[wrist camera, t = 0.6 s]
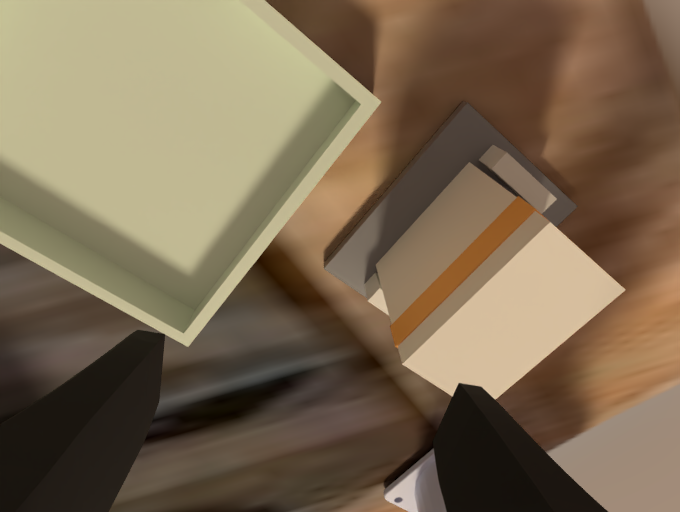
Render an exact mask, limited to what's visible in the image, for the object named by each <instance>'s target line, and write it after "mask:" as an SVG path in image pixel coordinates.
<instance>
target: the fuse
mask: <svg viewBox="0 0 680 512" xmlns="http://www.w3.org/2000/svg"><path fill="white" fill-rule="evenodd" d="M376 268H377V272H378V276H379V279H380V283H381V287H382V290H383V294H384V298H385V302H386V305H387V309H388V313H389V317H390V320H391V324H392V325H391V326H390V328H391V332H392V336H393V339H394V343H395V347H396V348H398V350H399V354H400V358H401V361H402V364H403V365H404V366H406V367H407V368H409V369H410V370H412V371H414V372H415V373H417V374H418V375H420V376H421V377H423V378H424V379H426V380H428V381H429V382H431V383H432V384H434V385H435V386H437V387H438V388H440V389H442V390H443V391H445V392H446V393H448V394H449V395H451V396H452V397H453V395H454V392H455V390H456V388H457V386H458V383H463V384H469V385H475V386H481V387H482V388H483V389H484V390H486V391H487V392H488V393H489V394H490V395H491V396H492V397H493V398H494V399H495V400H496V399H497V398H498V397H499V396H500V395H501V394H503V393H504V392H505V391H506V390H507V389H509V388H510V387H511V386H512V385H513V384H515V383H516V382H517V381H518V380H519V379H520V378H522V377H523V376H524V375H525V374H526V373H528V372H529V371H530V370H531V369H532V368H534V367H535V366H536V365H537V364H538V363H539V362H541V361H542V360H543V359H544V358H545V357H547V356H548V355H549V354H550V353H551V352H553V351H554V350H555V349H556V348H557V347H558V346H560V345H561V344H562V343H563V342H564V341H566V340H567V339H568V338H569V337H570V336H572V335H573V334H574V333H575V332H576V331H577V330H579V329H580V328H581V327H582V326H583V325H585V324H586V323H587V322H588V321H589V320H591V319H592V318H593V317H594V316H595V315H597V314H598V313H599V312H600V311H601V310H602V309H604V308H605V307H606V306H607V305H608V304H610V303H611V302H612V301H613V300H614V299H616V298H617V297H618V296H619V295H620V294H621V293H623V292H624V291H625V289H624V288H623V287H622V286H621V285H620V284H618V283H617V282H616V281H615V280H614V279H613V278H612V277H611V276H610V275H609V274H608V273H606V272H605V271H604V270H603V269H602V268H601V267H600V266H599V265H598V264H596V263H595V262H594V261H593V260H592V259H591V258H590V257H589V256H588V255H586V254H585V253H584V252H583V251H582V250H581V249H580V248H579V247H577V246H576V245H575V244H574V243H573V242H572V241H571V240H570V239H569V238H567V237H566V236H565V235H564V234H563V233H562V232H561V231H560V230H559V229H557V228H556V227H555V226H554V225H553V224H552V223H551V222H550V221H549V220H547V219H546V218H545V217H544V216H543V215H542V214H541V213H540V212H539V211H537V210H536V209H535V208H534V207H533V206H531V205H530V204H528V203H527V202H526V201H524V200H523V199H522V198H520V197H519V196H518V197H516V196H514V195H513V194H512V193H510V192H509V191H508V190H506V189H505V188H504V187H502V186H501V185H500V184H498V183H497V182H496V181H494V180H493V179H492V178H490V177H489V176H488V175H486V174H485V173H484V172H482V171H481V170H480V169H478V168H477V167H475V166H474V165H473V164H471V163H470V162H469V163H468V164H467V165H466V166H465V167H464V168H463V169H462V170H461V172H460V173H459V174H458V175H457V176H456V177H455V178H454V179H453V180H452V181H451V183H450V184H449V185H448V186H447V187H446V188H445V189H444V190H443V191H442V192H441V194H440V195H439V196H438V197H437V198H436V199H435V200H434V201H433V202H432V203H431V204H430V206H429V207H428V208H427V209H426V210H425V211H424V212H423V213H422V214H421V215H420V217H419V218H418V219H417V220H416V221H415V222H414V223H413V224H412V225H411V226H410V228H409V229H408V230H407V231H406V232H405V233H404V234H403V235H402V236H401V237H400V238H399V240H398V241H397V242H396V243H395V244H394V245H393V246H392V247H391V248H390V249H389V251H388V252H387V253H386V254H385V255H384V256H383V257H382V258H381V259H380V260H379V262H378V263H377V264H376Z"/></svg>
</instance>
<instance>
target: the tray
mask: <svg viewBox="0 0 680 512" xmlns="http://www.w3.org/2000/svg"><path fill="white" fill-rule="evenodd" d="M380 103H381V101H380V100H379V99H378V98H376V97H375V96H374V95H373V94H372V93H371V92H369V91H368V90H367V89H366V88H365V87H364V86H363V85H361V84H360V83H359V82H358V81H357V80H356V79H355V78H353V77H352V76H351V75H350V74H349V73H348V72H346V71H345V70H344V69H343V68H342V67H341V66H340V65H338V64H337V63H336V62H335V61H334V60H333V59H332V58H330V57H329V56H328V55H327V54H326V53H325V52H324V51H322V50H321V49H320V48H319V47H318V46H317V45H315V44H314V43H313V42H312V41H311V40H310V39H309V38H307V37H306V36H305V35H304V34H303V33H302V32H301V31H299V30H298V29H297V28H296V27H295V26H294V25H293V24H291V23H290V22H289V21H288V20H287V19H286V18H284V17H283V16H282V15H281V14H280V13H279V12H278V11H276V10H275V9H274V8H273V7H272V6H271V5H270V4H268V3H267V2H266V1H265V0H0V244H2V245H4V246H6V247H8V248H9V249H11V250H13V251H15V252H17V253H18V254H20V255H22V256H24V257H26V258H28V259H29V260H31V261H33V262H35V263H37V264H38V265H40V266H42V267H44V268H46V269H48V270H49V271H51V272H53V273H55V274H57V275H58V276H60V277H62V278H64V279H66V280H68V281H69V282H71V283H73V284H75V285H77V286H78V287H80V288H82V289H84V290H86V291H87V292H89V293H91V294H93V295H95V296H97V297H98V298H100V299H102V300H104V301H106V302H107V303H109V304H111V305H113V306H115V307H117V308H118V309H120V310H122V311H124V312H126V313H127V314H129V315H131V316H133V317H135V318H136V319H138V320H140V321H142V322H144V323H146V324H147V325H149V326H151V327H153V328H155V329H156V330H158V331H160V332H162V333H164V334H166V335H167V336H169V337H171V338H173V339H175V340H176V341H178V342H180V343H182V344H184V345H186V346H187V347H188V346H189V345H190V344H191V343H192V341H193V340H194V339H195V337H196V336H197V335H198V334H199V332H200V331H201V330H202V329H203V327H204V326H205V325H206V324H207V322H208V321H209V320H210V318H211V317H212V316H213V315H214V313H215V312H216V311H217V310H218V308H219V307H220V306H221V305H222V303H223V302H224V301H225V299H226V298H227V297H228V296H229V294H230V293H231V292H232V291H233V289H234V288H235V287H236V286H237V284H238V283H239V282H240V281H241V279H242V278H243V277H244V275H245V274H246V273H247V272H248V270H249V269H250V268H251V267H252V265H253V264H254V263H255V262H256V260H257V259H258V258H259V256H260V255H261V254H262V253H263V251H264V250H265V249H266V248H267V246H268V245H269V244H270V243H271V241H272V240H273V239H274V237H275V236H276V235H277V234H278V232H279V231H280V230H281V229H282V227H283V226H284V225H285V224H286V222H287V221H288V220H289V218H290V217H291V216H292V215H293V213H294V212H295V211H296V210H297V208H298V207H299V206H300V205H301V203H302V202H303V201H304V199H305V198H306V197H307V196H308V194H309V193H310V192H311V191H312V189H313V188H314V187H315V186H316V184H317V183H318V182H319V180H320V179H321V178H322V177H323V175H324V174H325V173H326V172H327V170H328V169H329V168H330V167H331V165H332V164H333V163H334V162H335V160H336V159H337V158H338V156H339V155H340V154H341V153H342V151H343V150H344V149H345V148H346V146H347V145H348V144H349V143H350V141H351V140H352V139H353V137H354V136H355V135H356V134H357V132H358V131H359V130H360V129H361V127H362V126H363V125H364V124H365V122H366V121H367V120H368V118H369V117H370V116H371V115H372V113H373V112H374V111H375V110H376V108H377V107H378V106H379V105H380Z"/></svg>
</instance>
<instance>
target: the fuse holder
mask: <svg viewBox="0 0 680 512" xmlns="http://www.w3.org/2000/svg"><path fill="white" fill-rule="evenodd" d="M469 162H470V163H471V164H473V165H474V166H475V167H477V168H478V169H480V170H481V171H482V172H484V173H485V174H486V175H488V176H489V177H490V178H492V179H493V180H494V181H496V182H497V183H498V184H500V185H501V186H502V187H504V188H505V189H506V190H508V191H509V192H510V193H512V194H513V195H514V196H516V197H518V196H519V197H520V198H522V199H523V200H524V201H526V202H527V203H528V204H530V205H531V206H533V207H534V208H535V209H536V210H537V211H539V212H540V213H541V214H542V215H543V216H544V217H545V218H546V219H547V220H549V221H550V222H551V223H552V224H553V225H554V226H555V227H557V226H558V225H559V224H560V223H561V222H562V221H563V220H564V219H565V218H566V217H567V216H568V215H569V214H571V213H572V212H573V211H574V210H575V209H576V208H577V207H578V206H577V205H576V204H575V203H573V202H572V201H571V200H570V199H569V198H568V197H567V196H566V195H565V194H564V193H563V192H562V191H561V190H560V189H559V188H558V187H557V186H555V185H554V184H553V183H552V182H551V181H550V180H549V179H548V178H547V177H546V176H545V175H544V174H543V173H542V172H541V171H540V170H539V169H537V168H536V167H535V166H534V165H533V164H532V163H531V162H530V161H529V160H528V159H527V158H526V157H525V156H524V155H523V154H522V153H521V152H519V151H518V150H517V149H516V148H515V147H514V146H513V145H512V144H511V143H510V142H509V141H508V140H507V139H506V138H505V137H504V136H503V135H501V134H500V133H499V132H498V131H497V130H496V129H495V128H494V127H493V126H492V125H491V124H490V123H489V122H488V121H487V120H486V119H485V118H483V117H482V116H481V115H480V114H479V113H478V112H477V111H476V110H475V109H474V108H473V107H472V106H471V105H470V104H469V103H468V102H465V101H462V103H461V104H460V105H459V106H458V107H457V108H456V110H455V111H454V112H453V113H452V114H451V115H450V117H449V118H448V119H447V120H446V121H445V122H444V124H443V125H442V126H441V127H440V128H439V129H438V131H437V132H436V133H435V134H434V135H433V136H432V138H431V139H430V140H429V141H428V142H427V143H426V145H425V146H424V147H423V148H422V149H421V150H420V152H419V153H418V154H417V155H416V156H415V157H414V159H413V160H412V161H411V162H410V163H409V164H408V166H407V167H406V168H405V169H404V170H403V171H402V173H401V174H400V175H399V176H398V177H397V178H396V180H395V181H394V182H393V183H392V184H391V185H390V187H389V188H388V189H387V190H386V191H385V192H384V194H383V195H382V196H381V197H380V198H379V199H378V200H377V202H376V203H375V204H374V205H373V206H372V207H371V209H370V210H369V211H368V212H367V213H366V214H365V216H364V217H363V218H362V219H361V220H360V221H359V223H358V224H357V225H356V226H355V227H354V228H353V230H352V231H351V232H350V233H349V234H348V235H347V237H346V238H345V239H344V240H343V241H342V242H341V244H340V245H339V246H338V247H337V248H336V249H335V251H334V252H333V253H332V254H331V255H330V256H329V258H328V259H327V260H326V261H325V262H324V269H325V270H326V271H328V272H329V273H331V274H332V275H334V276H335V277H337V278H338V279H340V280H341V281H342V282H344V283H345V284H347V285H348V286H350V287H351V288H353V289H354V290H356V291H357V292H359V293H360V294H361V295H363V296H364V297H366V298H367V300H368V302H370V303H371V304H373V305H374V306H376V307H377V308H379V309H380V310H381V311H383V312H384V313H386V314H387V315H389V313H388V309H387V305H386V302H385V298H384V294H383V290H382V287H381V283H380V279H379V276H378V272H377V268H376V264H377V263H378V262H379V260H380V259H381V258H382V257H383V256H384V255H385V254H386V253H387V252H388V251H389V249H390V248H391V247H392V246H393V245H394V244H395V243H396V242H397V241H398V240H399V238H400V237H401V236H402V235H403V234H404V233H405V232H406V231H407V230H408V229H409V228H410V226H411V225H412V224H413V223H414V222H415V221H416V220H417V219H418V218H419V217H420V215H421V214H422V213H423V212H424V211H425V210H426V209H427V208H428V207H429V206H430V204H431V203H432V202H433V201H434V200H435V199H436V198H437V197H438V196H439V195H440V194H441V192H442V191H443V190H444V189H445V188H446V187H447V186H448V185H449V184H450V183H451V181H452V180H453V179H454V178H455V177H456V176H457V175H458V174H459V173H460V172H461V170H462V169H463V168H464V167H465V166H466V165H467V164H468V163H469Z"/></svg>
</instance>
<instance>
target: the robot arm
mask: <svg viewBox="0 0 680 512" xmlns="http://www.w3.org/2000/svg"><path fill="white" fill-rule="evenodd" d="M164 341H165V334H160V333H154V332H148V331H142V330H137V331H135V332H133V333H132V334H130V335H129V336H128V337H126V338H125V339H124V340H123V341H121V342H120V343H119V344H117V345H116V346H115V347H113V348H112V349H111V350H109V351H108V352H107V353H105V354H104V355H103V356H101V357H100V358H99V359H97V360H96V361H95V362H93V363H92V364H91V365H89V366H88V367H86V368H85V369H84V370H82V371H81V372H79V373H78V374H76V375H75V376H74V377H72V378H71V379H69V380H68V381H67V382H65V383H64V384H62V385H61V386H59V387H58V388H56V389H55V390H53V391H52V392H50V393H49V394H47V395H46V396H44V397H43V398H41V399H40V400H38V401H36V402H35V403H33V404H32V405H30V406H29V407H27V408H26V409H24V410H22V411H21V412H19V413H18V414H16V415H15V416H13V417H11V418H10V419H8V420H6V421H5V422H3V423H1V424H0V512H109V510H110V508H111V506H112V504H113V502H114V500H115V498H116V496H117V494H118V492H119V490H120V488H121V487H122V485H123V483H124V481H125V479H126V477H127V475H128V473H129V471H130V469H131V467H132V465H133V463H134V461H135V459H136V457H137V455H138V453H139V451H140V449H141V447H142V445H143V443H144V440H145V438H146V435H147V433H148V430H149V428H150V425H151V422H152V420H153V417H154V414H155V411H156V409H157V406H158V403H159V397H160V386H161V374H162V363H163V352H164ZM433 447H434V448H433V449H432V450H431V451H430V452H428V453H427V454H426V455H425V456H424V457H422V458H421V459H420V460H419V461H418V462H417V463H415V464H414V465H413V466H412V467H411V468H409V469H408V470H407V471H406V472H405V473H404V474H402V475H401V476H400V477H399V478H398V479H396V480H395V481H394V482H393V483H392V484H391V485H389V486H388V487H387V488H386V489H385V490H384V498H385V499H386V500H387V501H389V502H391V503H393V504H395V505H397V506H399V507H400V508H402V509H404V510H406V511H408V512H608V511H607V510H605V509H604V508H603V507H602V506H601V505H600V504H599V503H598V502H597V501H595V500H594V499H593V498H592V497H591V496H590V495H589V494H588V493H587V492H586V491H585V490H584V489H583V488H582V487H580V486H579V485H578V484H577V483H576V482H575V481H574V480H573V479H572V478H571V477H570V476H569V475H568V474H567V473H566V472H565V471H564V470H563V469H562V468H561V467H560V466H559V465H558V464H557V463H556V462H555V461H554V460H553V459H552V458H551V457H550V456H549V455H548V454H547V453H546V452H545V451H544V450H543V449H542V448H541V447H540V446H539V445H538V444H537V443H536V442H535V441H534V440H533V439H532V438H531V437H530V436H529V435H528V434H527V433H526V432H525V431H524V430H523V428H522V427H521V426H520V425H519V424H518V423H517V422H516V421H515V420H514V419H513V418H512V417H511V416H510V415H509V414H508V413H507V412H506V411H505V410H504V409H503V407H502V406H501V405H500V404H499V403H498V402H497V401H496V400H495V399H494V398H493V397H492V396H491V395H490V394H489V393H488V392H487V391H486V390H484V389H483V388H482V387H481V386H475V385H469V384H463V383H458V386H457V388H456V390H455V392H454V395H453V397H452V399H451V401H450V404H449V406H448V408H447V410H446V413H445V415H444V417H443V419H442V422H441V424H440V426H439V428H438V430H437V433H436V435H435V437H434V439H433Z"/></svg>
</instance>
